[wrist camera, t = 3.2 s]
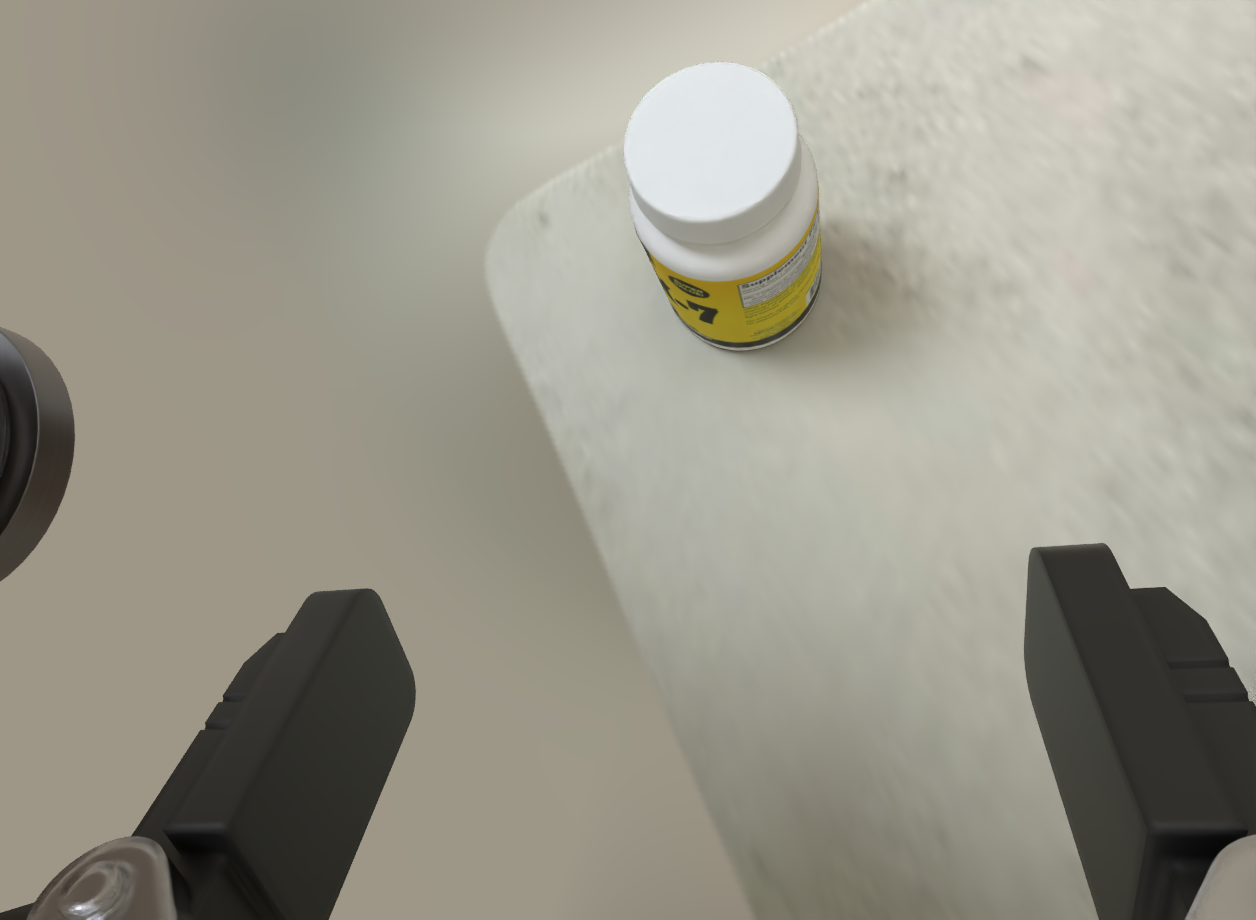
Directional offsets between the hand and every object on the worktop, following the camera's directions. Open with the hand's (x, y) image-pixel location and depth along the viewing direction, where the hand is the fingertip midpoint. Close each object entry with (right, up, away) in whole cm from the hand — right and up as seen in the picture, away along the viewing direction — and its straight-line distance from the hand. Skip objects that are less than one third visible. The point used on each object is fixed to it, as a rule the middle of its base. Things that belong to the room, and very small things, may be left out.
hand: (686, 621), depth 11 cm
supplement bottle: (+3, +7, +17) cm, 19 cm away
